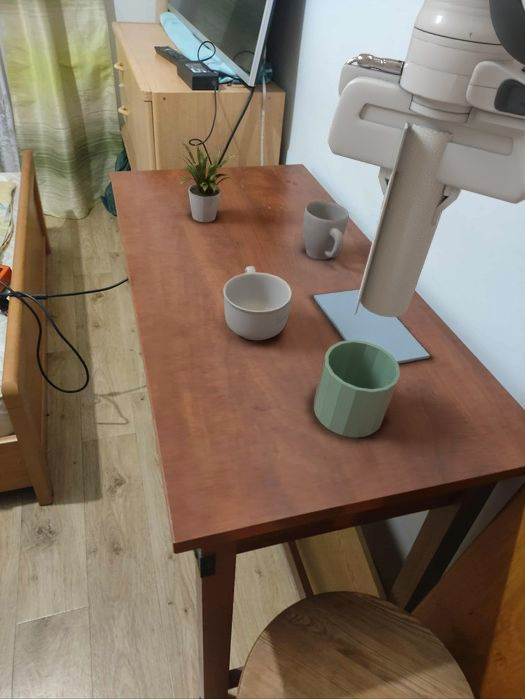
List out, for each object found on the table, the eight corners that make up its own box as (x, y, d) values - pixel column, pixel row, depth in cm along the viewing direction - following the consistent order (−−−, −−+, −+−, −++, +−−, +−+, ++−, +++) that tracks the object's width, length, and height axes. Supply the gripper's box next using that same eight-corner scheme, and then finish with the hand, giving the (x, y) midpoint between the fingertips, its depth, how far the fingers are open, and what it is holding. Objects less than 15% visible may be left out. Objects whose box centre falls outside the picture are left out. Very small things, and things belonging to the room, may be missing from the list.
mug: (291, 244, 109) (298, 201, 102) (329, 241, 111) (338, 199, 105) (313, 274, 100) (322, 230, 94) (353, 270, 103) (364, 227, 97)
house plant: (152, 216, 111) (149, 140, 101) (189, 196, 121) (190, 125, 110) (206, 237, 107) (209, 160, 96) (240, 214, 117) (246, 142, 106)
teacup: (285, 352, 82) (293, 312, 76) (218, 346, 81) (220, 305, 76) (284, 302, 92) (290, 264, 87) (224, 296, 92) (227, 257, 86)
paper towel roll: (401, 291, 65) (459, 114, 51) (413, 320, 60) (481, 134, 46) (345, 287, 64) (389, 107, 50) (353, 316, 60) (404, 126, 46)
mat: (428, 358, 84) (430, 355, 84) (366, 369, 80) (367, 367, 80) (369, 290, 98) (370, 287, 98) (313, 297, 94) (314, 295, 94)
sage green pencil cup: (391, 403, 75) (408, 357, 70) (369, 448, 68) (387, 402, 63) (329, 376, 78) (341, 331, 72) (302, 417, 71) (313, 371, 65)
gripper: (332, 53, 46) (308, 198, 55) (573, 104, 40) (502, 258, 49) (356, 45, 50) (330, 180, 59) (575, 90, 44) (510, 233, 53)
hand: (409, 216), depth 54 cm, fingers closed on paper towel roll, 3 cm apart
